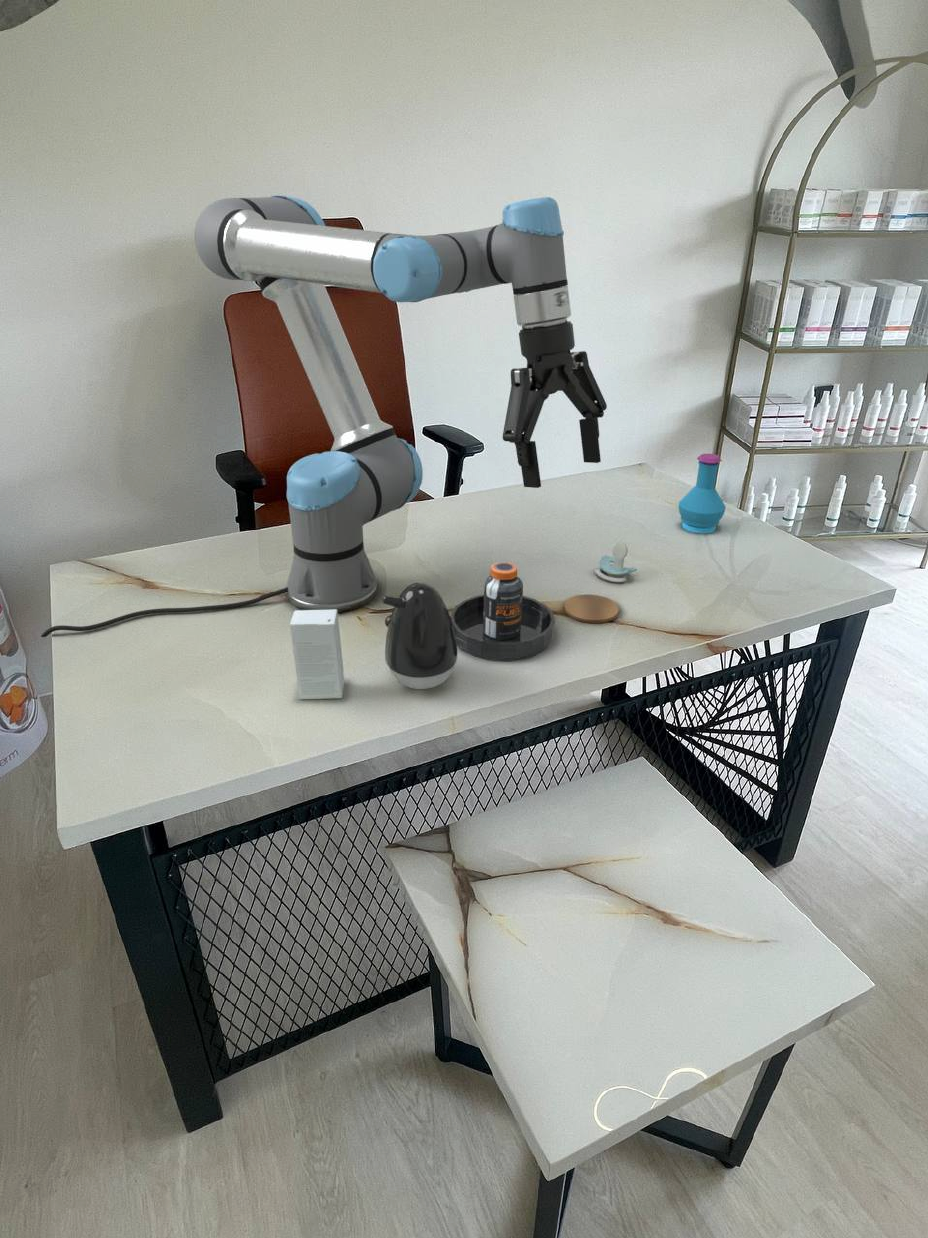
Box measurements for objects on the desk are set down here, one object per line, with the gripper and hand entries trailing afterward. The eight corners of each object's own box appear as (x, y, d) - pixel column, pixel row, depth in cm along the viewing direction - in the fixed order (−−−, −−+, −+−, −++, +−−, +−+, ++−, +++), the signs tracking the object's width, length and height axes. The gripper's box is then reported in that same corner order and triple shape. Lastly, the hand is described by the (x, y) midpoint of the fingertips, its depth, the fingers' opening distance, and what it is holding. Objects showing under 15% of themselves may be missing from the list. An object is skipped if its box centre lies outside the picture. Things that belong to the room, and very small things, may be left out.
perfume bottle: (667, 521, 168) (676, 451, 160) (706, 516, 170) (717, 447, 163) (691, 538, 160) (702, 465, 153) (731, 532, 162) (743, 460, 155)
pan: (472, 669, 118) (472, 651, 116) (436, 618, 131) (436, 602, 130) (571, 649, 123) (572, 632, 121) (527, 602, 136) (528, 586, 135)
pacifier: (617, 588, 141) (640, 578, 144) (620, 556, 138) (643, 546, 141) (587, 574, 146) (609, 564, 149) (589, 542, 143) (612, 533, 146)
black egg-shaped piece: (375, 669, 118) (369, 576, 110) (441, 654, 121) (439, 563, 114) (399, 706, 109) (394, 608, 102) (468, 689, 113) (469, 593, 106)
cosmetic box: (345, 682, 115) (338, 608, 109) (342, 699, 111) (335, 624, 105) (302, 683, 114) (293, 609, 109) (297, 700, 111) (288, 624, 105)
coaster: (579, 627, 129) (580, 624, 128) (554, 602, 136) (555, 599, 136) (628, 617, 131) (629, 614, 131) (601, 594, 139) (601, 590, 139)
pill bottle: (495, 644, 123) (497, 578, 118) (476, 627, 128) (477, 563, 122) (528, 635, 126) (531, 569, 120) (508, 618, 130) (510, 555, 125)
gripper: (501, 336, 101) (524, 499, 109) (621, 307, 116) (634, 453, 124) (461, 341, 106) (486, 496, 115) (581, 312, 121) (596, 451, 129)
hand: (563, 474), depth 119 cm, fingers open, 13 cm apart
